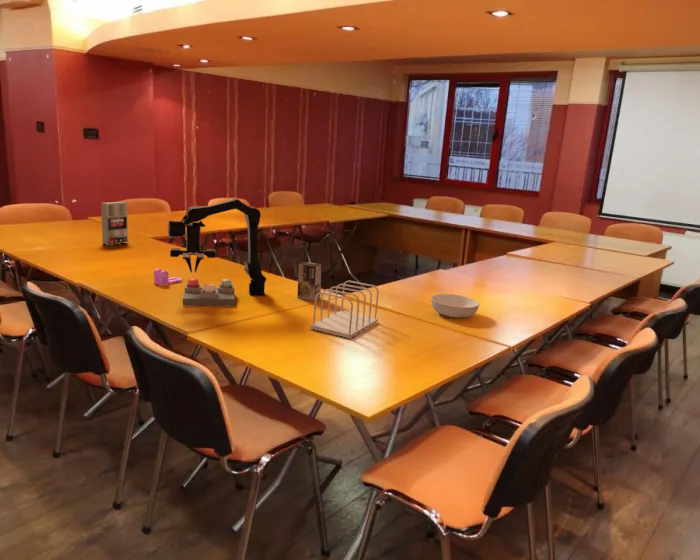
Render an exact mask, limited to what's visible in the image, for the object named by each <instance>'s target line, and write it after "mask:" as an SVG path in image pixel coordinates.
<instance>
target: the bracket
mask: <svg viewBox="0 0 700 560" xmlns="http://www.w3.org/2000/svg"><path fill="white" fill-rule="evenodd" d="M180 281H182V282H183V278H182V277H179V276H174V277H173V276H172V277H169V272H168V271H167V270H162V269H161V268H155V270H154V271H153V282H154V283H155V284H154V285H157V284H159V285H158V286H160V285H164V286H167V285H166V284H169V285H172V284H171V283H174V284H176V283H175V282H179V283H181V282H180Z"/></svg>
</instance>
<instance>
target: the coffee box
mask: <svg viewBox="0 0 700 560" xmlns="http://www.w3.org/2000/svg"><path fill="white" fill-rule="evenodd" d="M322 273H323V264H322V263H316V262H310V261H303V262H300V263H298V274H297V275H298V276H297V277H298V278H297V299H301V300H306V299H307V301H311V300H312V302H315V296H316V294H317V293H320V292H321V291H322ZM319 299H320V300H321V294H319V295H318V296H317V300H319Z"/></svg>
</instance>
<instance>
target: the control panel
mask: <svg viewBox="0 0 700 560" xmlns="http://www.w3.org/2000/svg"><path fill="white" fill-rule="evenodd" d="M202 286H203V285H202V283H199V285H198V287H188V283H186V284H185V285H184V293H183V296H182V306H183V305H187V307H188V305H189V307H195V306H194V305H203V306H204V305H205V307H207V306H206V305H210V306H209V307H214V306H216V307H235V304H236V303H235V298H236V297H235V284H232V283H231V288H222V287H221V283H219V284H218V285H217V287H215V292H214V293H204V287H202ZM190 305H191V306H190ZM192 305H193V306H192ZM211 305H212V306H211ZM203 306H202V307H203Z"/></svg>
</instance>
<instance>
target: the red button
mask: <svg viewBox="0 0 700 560" xmlns="http://www.w3.org/2000/svg"><path fill="white" fill-rule="evenodd" d="M199 282H200V280H199V279H198V278H195V277H193V278H192V277H191V278H188V279H187V284H188V287H198V285H199V284H200V283H199Z"/></svg>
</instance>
